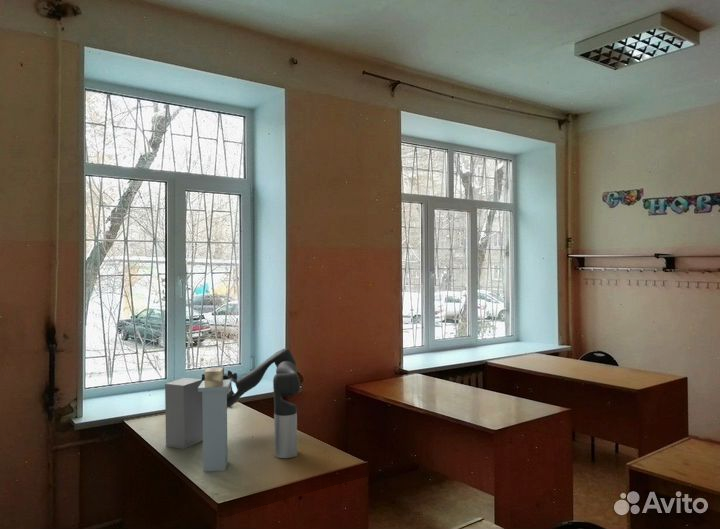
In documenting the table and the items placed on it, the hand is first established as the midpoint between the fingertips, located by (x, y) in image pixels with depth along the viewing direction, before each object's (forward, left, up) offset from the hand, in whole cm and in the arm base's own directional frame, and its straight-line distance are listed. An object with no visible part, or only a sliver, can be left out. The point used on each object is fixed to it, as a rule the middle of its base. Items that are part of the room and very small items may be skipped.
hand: (217, 373), depth 215 cm
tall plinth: (0, +11, -34) cm, 35 cm away
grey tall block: (+17, -17, -34) cm, 41 cm away
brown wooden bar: (0, +5, -2) cm, 5 cm away
